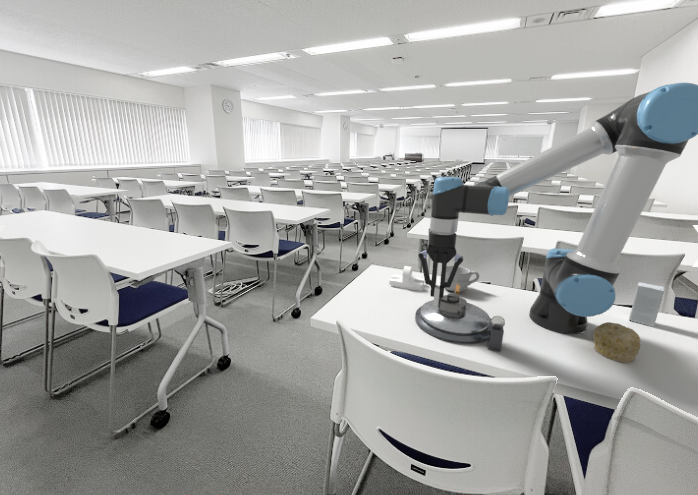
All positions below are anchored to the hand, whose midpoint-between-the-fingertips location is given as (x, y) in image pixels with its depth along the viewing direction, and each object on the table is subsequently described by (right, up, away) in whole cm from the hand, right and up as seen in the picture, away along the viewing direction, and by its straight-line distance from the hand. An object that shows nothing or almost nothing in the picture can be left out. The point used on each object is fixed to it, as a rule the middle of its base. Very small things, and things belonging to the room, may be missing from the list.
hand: (435, 306), depth 101 cm
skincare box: (+65, -5, +2) cm, 65 cm away
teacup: (+15, +2, +25) cm, 29 cm away
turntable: (+5, -3, 0) cm, 6 cm away
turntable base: (+5, -5, -1) cm, 7 cm away
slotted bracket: (-4, +3, +28) cm, 28 cm away
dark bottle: (+12, -9, -13) cm, 20 cm away
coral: (+42, -10, -15) cm, 46 cm away
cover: (+4, -2, -1) cm, 5 cm away
